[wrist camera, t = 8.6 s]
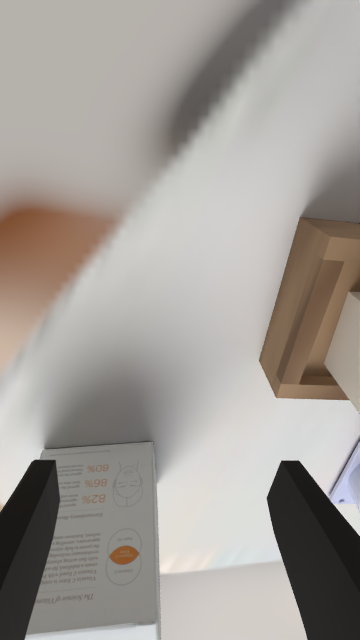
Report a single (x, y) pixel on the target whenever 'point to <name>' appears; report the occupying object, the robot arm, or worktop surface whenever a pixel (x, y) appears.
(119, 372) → the worktop surface
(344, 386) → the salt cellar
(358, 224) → the wooden square tray
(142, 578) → the small box
